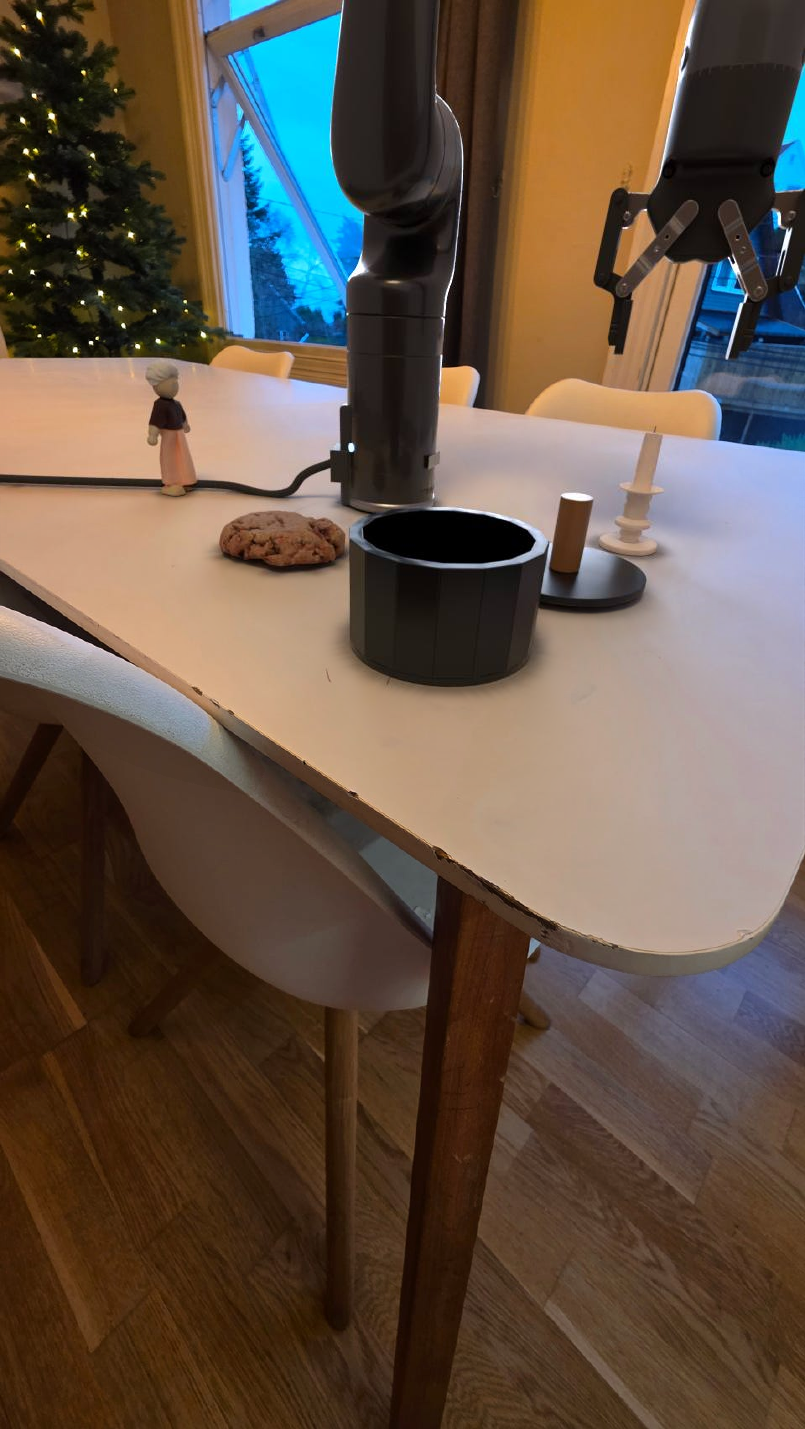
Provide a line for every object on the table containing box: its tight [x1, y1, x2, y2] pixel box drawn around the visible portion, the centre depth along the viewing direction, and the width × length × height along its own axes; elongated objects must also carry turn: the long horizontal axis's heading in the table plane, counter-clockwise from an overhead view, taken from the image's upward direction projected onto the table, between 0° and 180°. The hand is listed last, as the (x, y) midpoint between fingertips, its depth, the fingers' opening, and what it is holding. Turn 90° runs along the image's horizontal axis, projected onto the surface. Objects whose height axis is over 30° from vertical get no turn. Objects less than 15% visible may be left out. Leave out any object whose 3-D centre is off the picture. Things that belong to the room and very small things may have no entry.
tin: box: [348, 506, 550, 687], centre depth 39 cm, size 12×12×7 cm
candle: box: [598, 425, 665, 557], centre depth 56 cm, size 5×5×10 cm
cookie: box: [218, 510, 346, 567], centre depth 53 cm, size 10×11×3 cm
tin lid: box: [540, 492, 648, 608], centre depth 48 cm, size 13×13×7 cm
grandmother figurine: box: [145, 358, 198, 497], centre depth 66 cm, size 8×4×13 cm, turn 179°
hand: (673, 357), depth 50 cm, fingers open, 8 cm apart
